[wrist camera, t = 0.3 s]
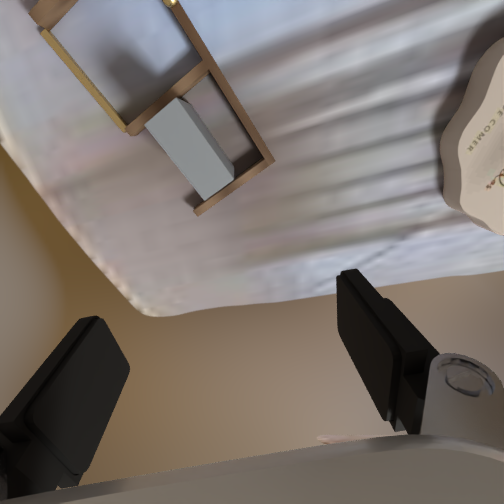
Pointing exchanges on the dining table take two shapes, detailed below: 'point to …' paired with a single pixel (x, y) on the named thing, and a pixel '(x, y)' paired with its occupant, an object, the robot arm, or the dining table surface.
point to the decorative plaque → (478, 146)
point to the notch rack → (59, 3)
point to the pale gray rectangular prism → (191, 147)
